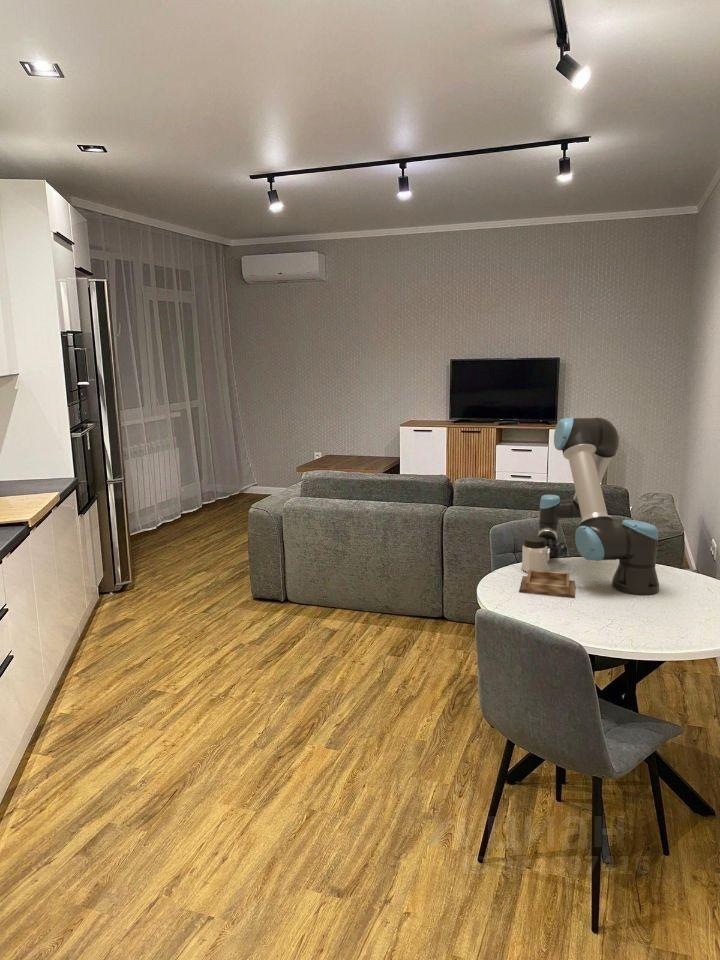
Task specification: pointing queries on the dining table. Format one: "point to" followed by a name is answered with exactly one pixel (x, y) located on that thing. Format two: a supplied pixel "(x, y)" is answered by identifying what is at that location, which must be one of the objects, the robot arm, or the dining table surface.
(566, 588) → the wooden tray
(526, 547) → the jar
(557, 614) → the dining table surface
